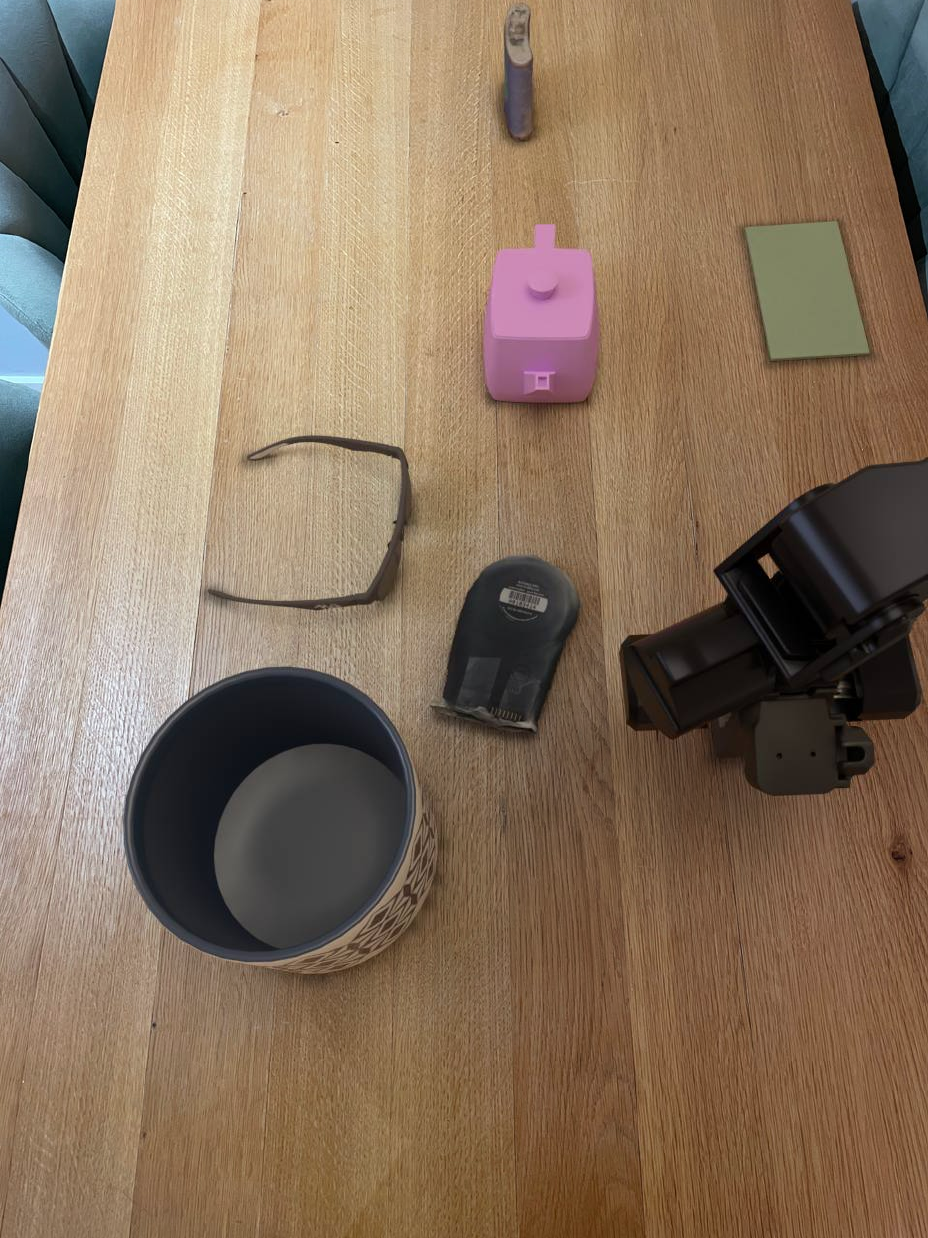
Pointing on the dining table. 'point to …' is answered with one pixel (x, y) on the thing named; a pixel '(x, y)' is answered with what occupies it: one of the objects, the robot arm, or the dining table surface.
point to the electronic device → (509, 643)
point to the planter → (281, 823)
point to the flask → (518, 72)
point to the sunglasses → (393, 555)
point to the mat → (805, 291)
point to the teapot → (541, 323)
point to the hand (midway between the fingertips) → (738, 712)
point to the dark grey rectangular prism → (727, 737)
